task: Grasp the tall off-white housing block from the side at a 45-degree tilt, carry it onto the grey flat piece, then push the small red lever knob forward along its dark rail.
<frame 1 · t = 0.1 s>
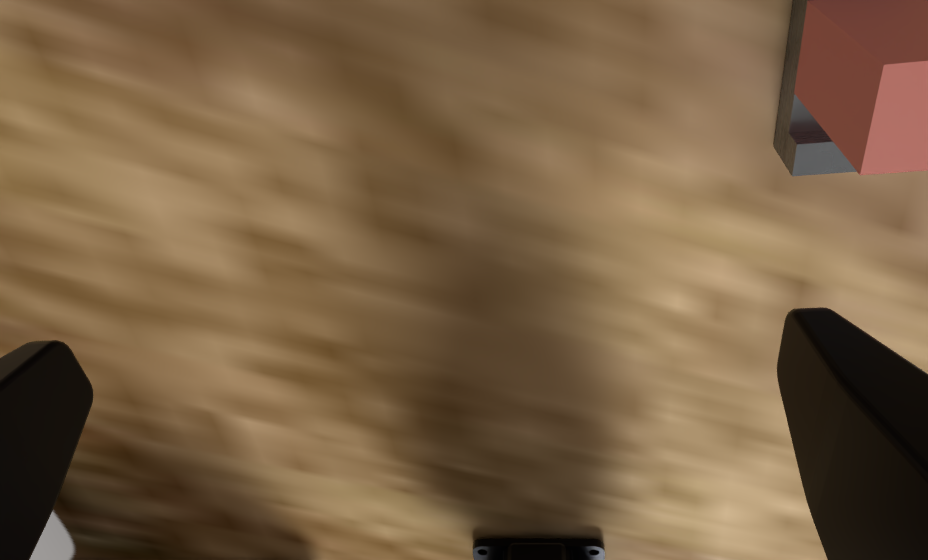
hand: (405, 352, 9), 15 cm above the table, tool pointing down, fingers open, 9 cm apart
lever: (887, 76, 17), point 4 cm above the table, slide at 0.0 cm
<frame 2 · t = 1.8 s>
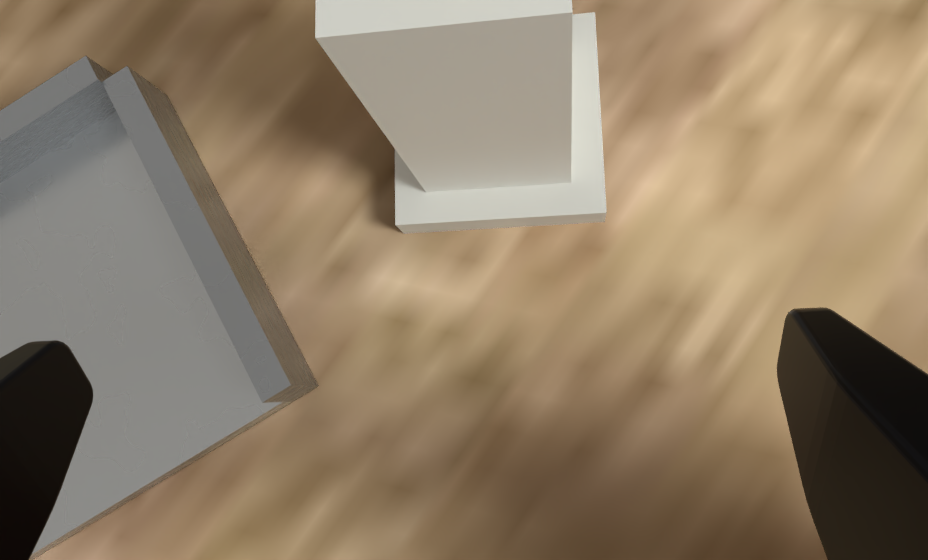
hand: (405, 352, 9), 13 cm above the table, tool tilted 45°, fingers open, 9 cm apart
housing: (499, 132, 23), on the table
grey flat piece: (68, 338, 24), on the table
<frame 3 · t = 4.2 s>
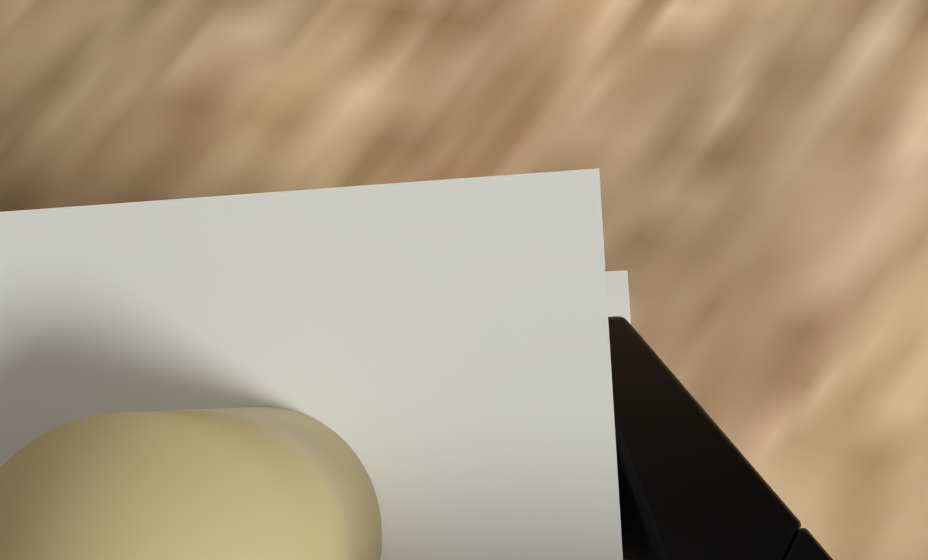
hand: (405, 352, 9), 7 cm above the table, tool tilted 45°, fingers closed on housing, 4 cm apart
housing: (479, 435, 15), on the table, touching gripper
when the fingers open (8 cm above the table, at t = 8.7 s): housing stays where it is, resting on grey flat piece.
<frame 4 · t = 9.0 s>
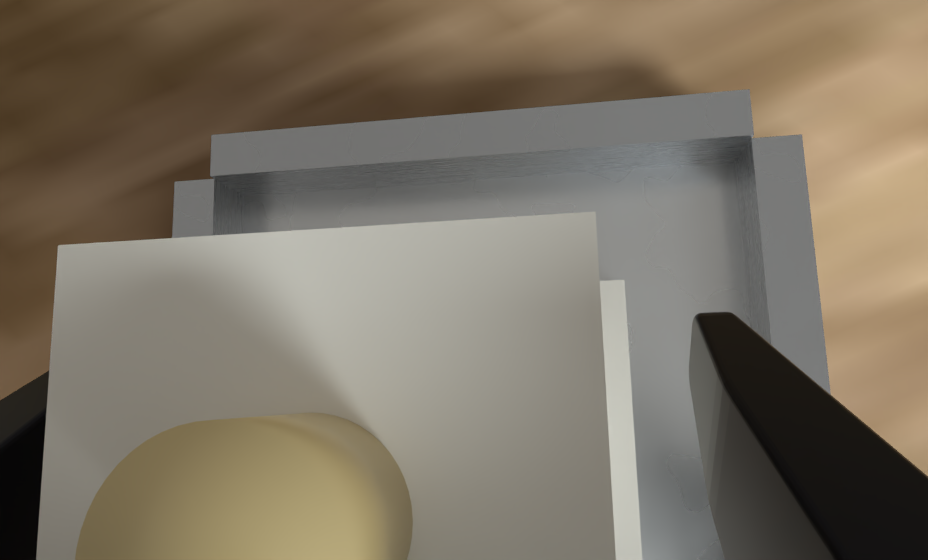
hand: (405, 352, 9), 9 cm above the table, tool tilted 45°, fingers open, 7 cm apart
housing: (484, 435, 16), point 1 cm above the table, touching grey flat piece
grey flat piece: (488, 430, 17), on the table
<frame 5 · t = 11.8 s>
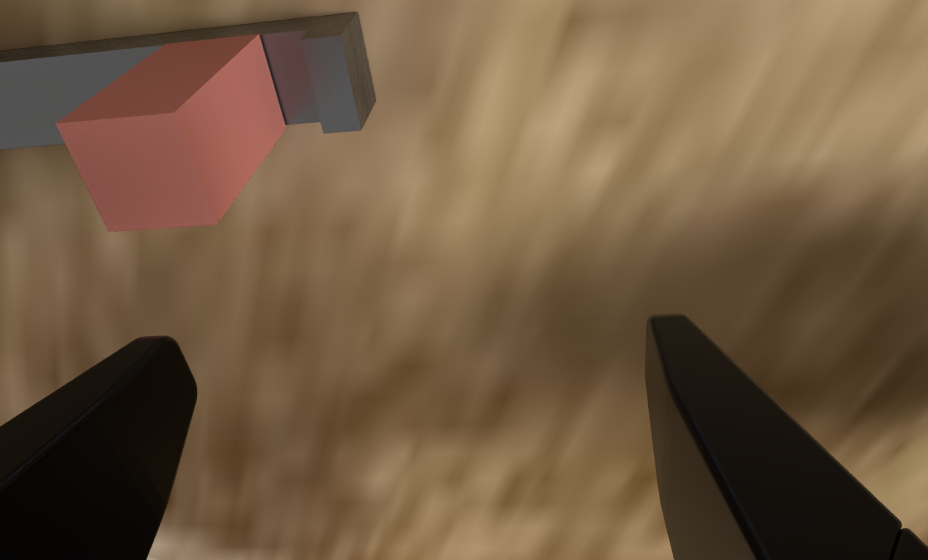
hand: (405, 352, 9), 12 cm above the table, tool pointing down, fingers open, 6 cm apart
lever: (188, 126, 16), point 4 cm above the table, slide at 0.0 cm
rail: (144, 80, 20), on the table
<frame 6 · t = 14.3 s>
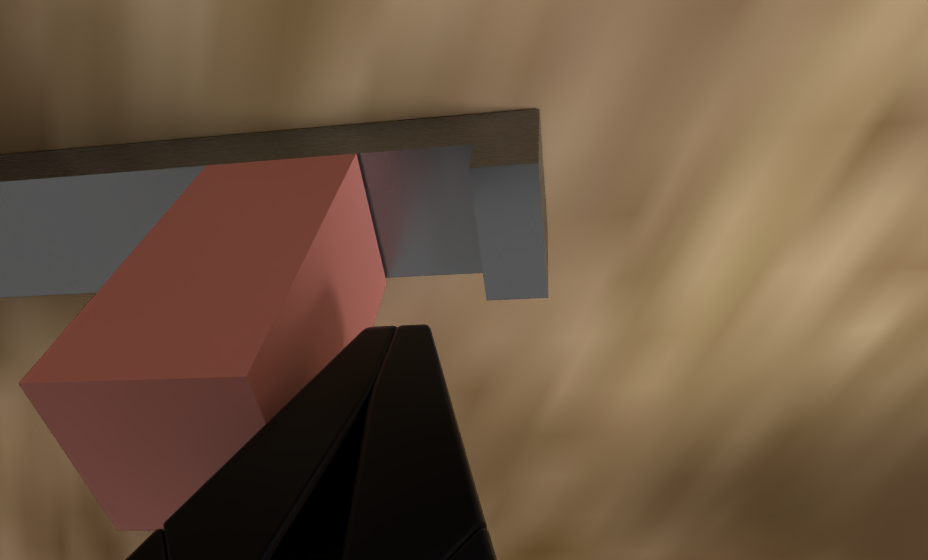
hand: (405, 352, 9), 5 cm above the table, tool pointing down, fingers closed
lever: (250, 320, 10), point 4 cm above the table, slide at 0.6 cm, touching gripper
rail: (197, 198, 13), on the table
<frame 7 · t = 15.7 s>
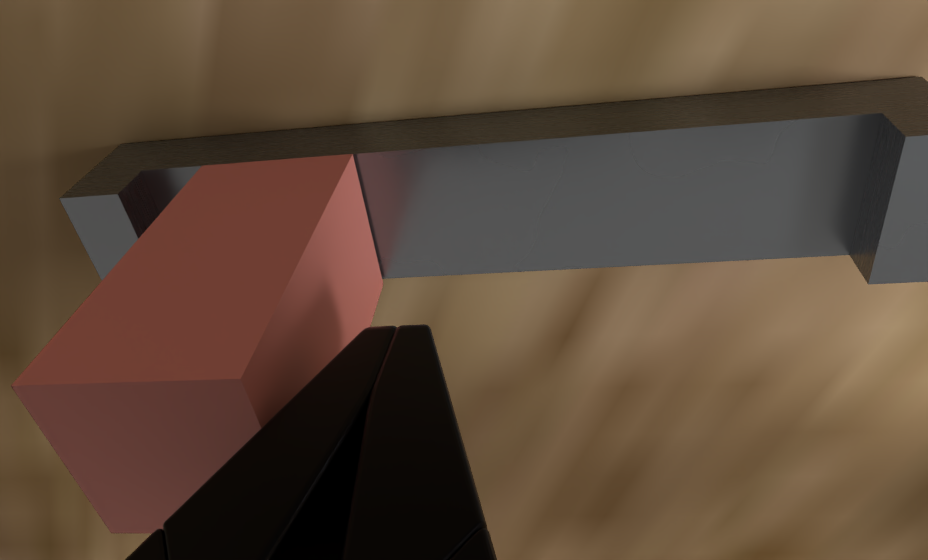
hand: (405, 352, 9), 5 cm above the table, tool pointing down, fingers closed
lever: (245, 321, 10), point 4 cm above the table, slide at 6.4 cm, touching gripper
rail: (503, 177, 12), on the table
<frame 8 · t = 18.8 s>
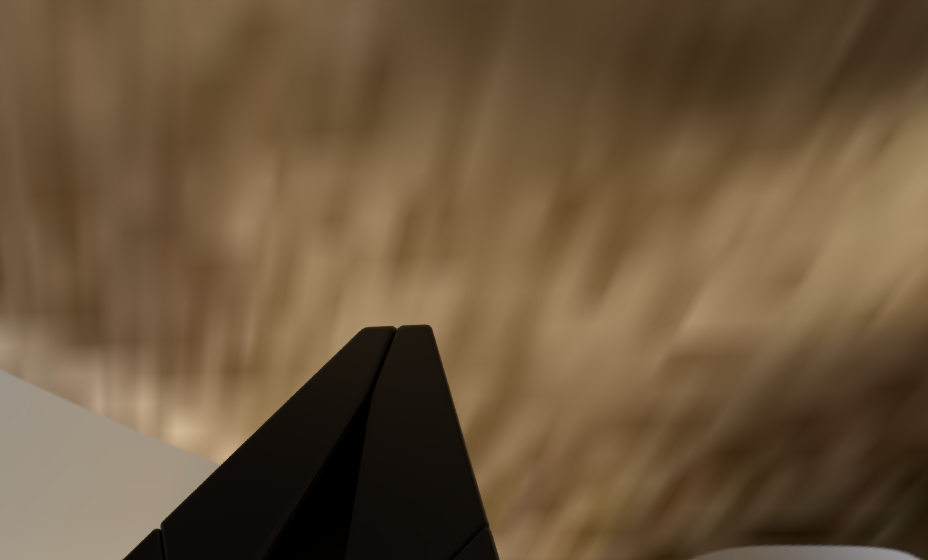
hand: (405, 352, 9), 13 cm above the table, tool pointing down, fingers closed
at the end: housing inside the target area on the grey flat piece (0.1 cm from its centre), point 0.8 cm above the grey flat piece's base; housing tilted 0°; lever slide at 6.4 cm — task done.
